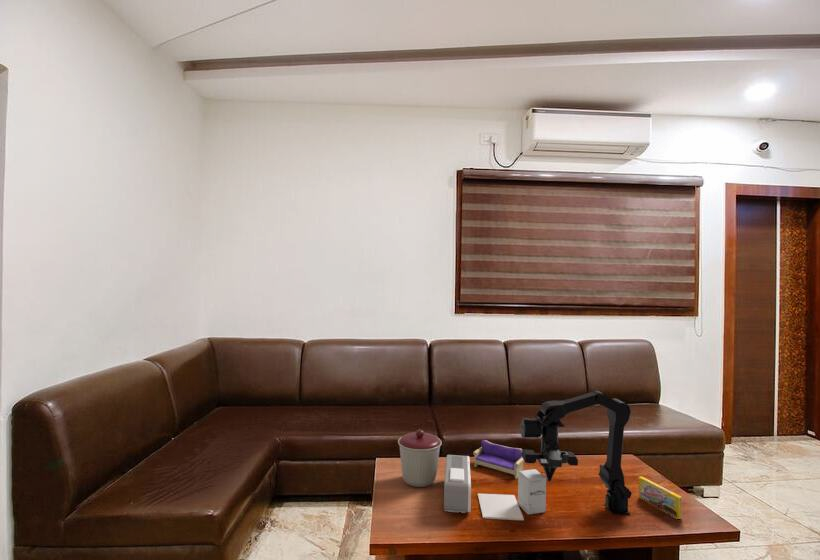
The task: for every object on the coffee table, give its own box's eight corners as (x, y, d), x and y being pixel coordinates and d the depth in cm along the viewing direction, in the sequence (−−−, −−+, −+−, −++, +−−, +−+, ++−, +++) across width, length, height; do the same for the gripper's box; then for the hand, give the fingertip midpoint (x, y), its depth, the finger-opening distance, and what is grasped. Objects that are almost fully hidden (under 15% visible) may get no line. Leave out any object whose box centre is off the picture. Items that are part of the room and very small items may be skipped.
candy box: (637, 498, 157) (638, 476, 157) (642, 497, 158) (642, 475, 158) (678, 521, 142) (678, 497, 142) (682, 520, 142) (682, 496, 142)
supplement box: (528, 515, 143) (528, 479, 143) (517, 504, 150) (517, 470, 151) (546, 512, 145) (546, 477, 145) (534, 502, 152) (535, 468, 152)
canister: (439, 494, 157) (440, 439, 157) (393, 489, 159) (394, 436, 160) (442, 473, 174) (443, 424, 175) (401, 469, 177) (402, 421, 178)
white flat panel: (514, 496, 156) (514, 495, 156) (523, 520, 140) (523, 518, 140) (477, 494, 157) (477, 493, 157) (482, 518, 141) (483, 516, 141)
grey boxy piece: (470, 518, 141) (471, 483, 141) (443, 515, 142) (444, 481, 142) (468, 481, 168) (469, 452, 168) (446, 479, 169) (446, 450, 169)
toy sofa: (472, 466, 182) (472, 443, 182) (480, 460, 189) (481, 438, 189) (517, 480, 170) (517, 455, 170) (524, 472, 177) (525, 449, 177)
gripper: (529, 445, 140) (528, 490, 140) (584, 447, 139) (583, 493, 139) (522, 433, 151) (521, 475, 151) (572, 436, 150) (572, 478, 150)
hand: (548, 480), depth 148 cm, fingers closed
